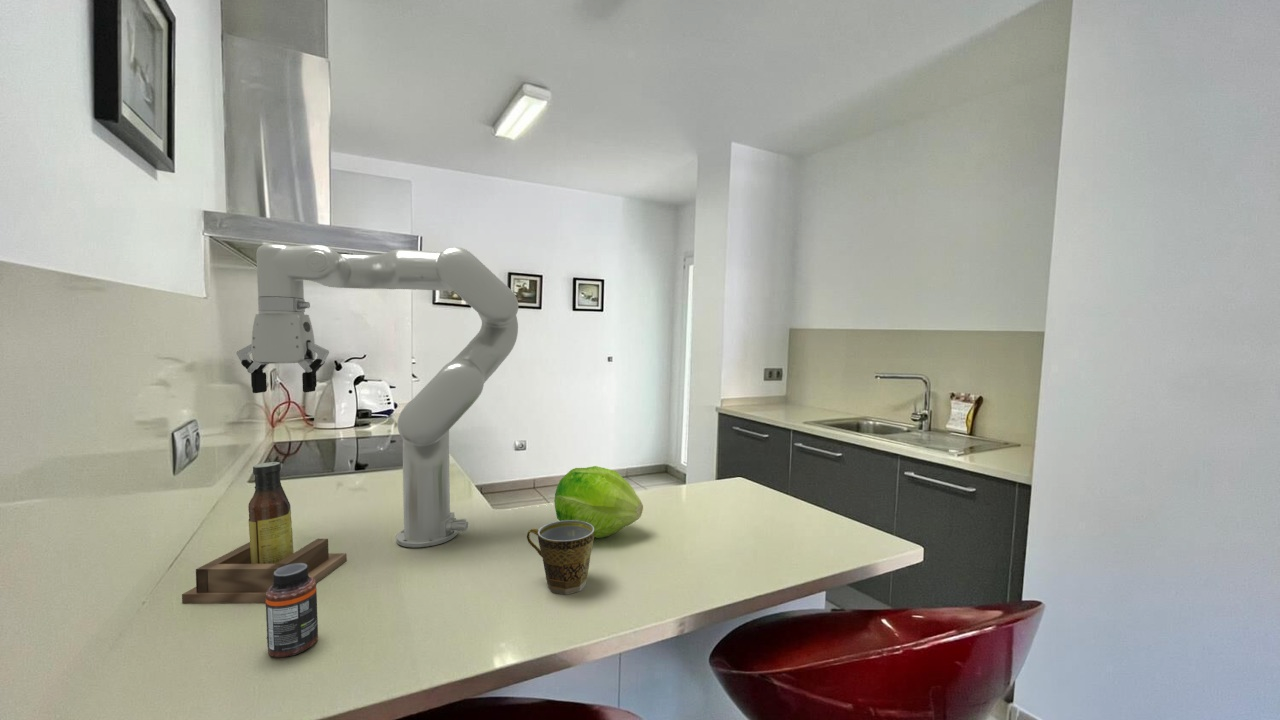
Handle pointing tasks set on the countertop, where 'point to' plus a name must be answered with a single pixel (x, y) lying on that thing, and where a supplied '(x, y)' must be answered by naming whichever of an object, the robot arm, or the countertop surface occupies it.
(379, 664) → the countertop surface
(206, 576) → the bottle stand
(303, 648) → the supplement bottle
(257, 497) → the sauce bottle
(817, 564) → the countertop surface
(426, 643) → the countertop surface
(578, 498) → the lettuce
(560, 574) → the ceramic cup
